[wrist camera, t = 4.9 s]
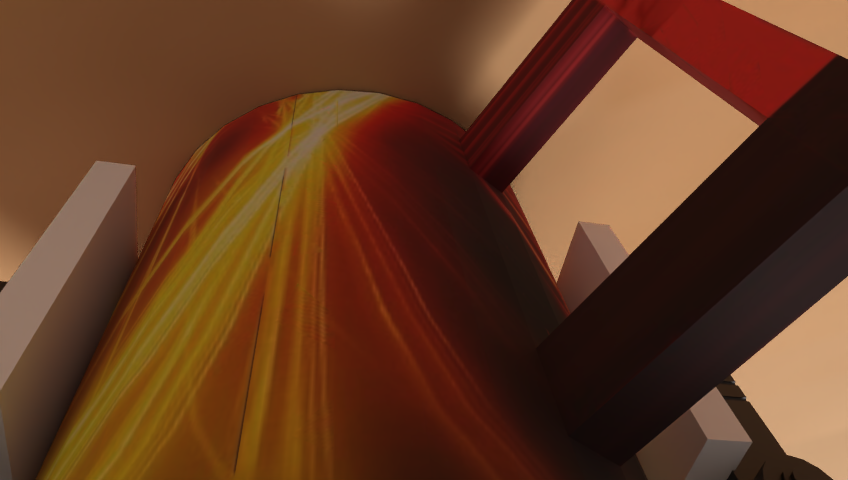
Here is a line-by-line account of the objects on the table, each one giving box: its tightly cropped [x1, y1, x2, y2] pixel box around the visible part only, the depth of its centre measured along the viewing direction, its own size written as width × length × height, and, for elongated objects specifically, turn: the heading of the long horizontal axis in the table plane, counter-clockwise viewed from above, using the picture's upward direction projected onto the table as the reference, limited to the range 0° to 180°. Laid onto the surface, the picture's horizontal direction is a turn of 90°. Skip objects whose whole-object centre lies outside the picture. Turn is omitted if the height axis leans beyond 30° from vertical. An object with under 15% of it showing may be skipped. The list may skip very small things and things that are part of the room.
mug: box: [35, 0, 848, 480], centre depth 12 cm, size 10×14×12 cm
